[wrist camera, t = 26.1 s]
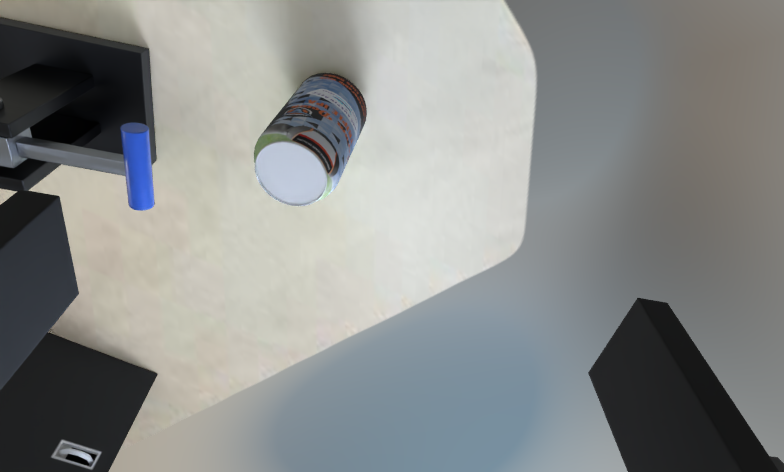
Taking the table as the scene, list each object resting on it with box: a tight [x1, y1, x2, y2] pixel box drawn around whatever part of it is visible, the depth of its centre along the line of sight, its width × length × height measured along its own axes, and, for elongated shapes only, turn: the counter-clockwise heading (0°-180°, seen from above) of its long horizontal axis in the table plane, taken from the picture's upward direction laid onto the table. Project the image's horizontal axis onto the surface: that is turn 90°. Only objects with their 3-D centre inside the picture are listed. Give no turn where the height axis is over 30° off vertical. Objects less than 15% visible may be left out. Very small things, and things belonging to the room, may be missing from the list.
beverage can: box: [254, 73, 367, 206], centre depth 37 cm, size 6×7×12 cm
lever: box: [0, 123, 155, 210], centre depth 33 cm, size 11×6×2 cm, turn 78°
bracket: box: [0, 17, 156, 191], centre depth 36 cm, size 12×10×12 cm
